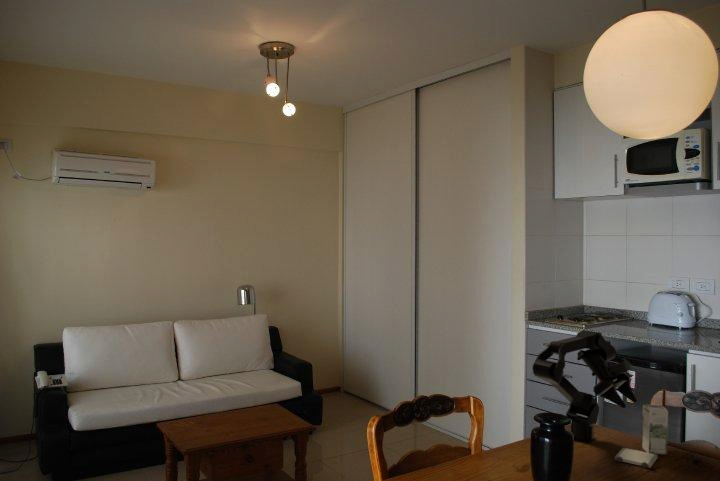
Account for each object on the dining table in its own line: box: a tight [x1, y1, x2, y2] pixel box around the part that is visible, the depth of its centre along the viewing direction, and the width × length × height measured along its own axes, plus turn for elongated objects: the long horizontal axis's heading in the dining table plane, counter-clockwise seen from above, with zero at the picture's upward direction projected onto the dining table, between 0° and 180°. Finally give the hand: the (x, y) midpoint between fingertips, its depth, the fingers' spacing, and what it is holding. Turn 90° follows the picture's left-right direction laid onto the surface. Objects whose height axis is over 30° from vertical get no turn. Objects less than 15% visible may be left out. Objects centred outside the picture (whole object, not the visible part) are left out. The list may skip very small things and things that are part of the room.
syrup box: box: [641, 404, 669, 456], centre depth 188 cm, size 6×6×14 cm
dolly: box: [614, 446, 658, 469], centre depth 181 cm, size 10×11×2 cm
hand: (630, 404), depth 193 cm, fingers open, 9 cm apart
